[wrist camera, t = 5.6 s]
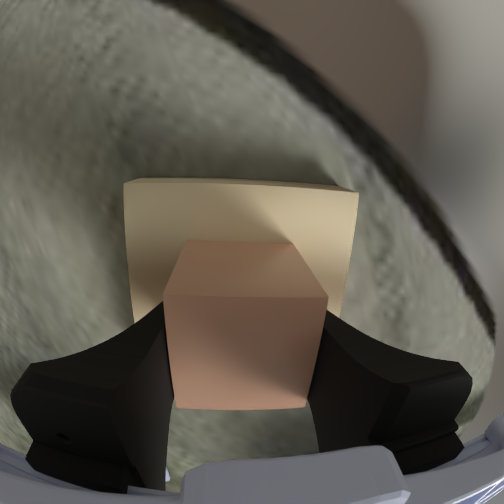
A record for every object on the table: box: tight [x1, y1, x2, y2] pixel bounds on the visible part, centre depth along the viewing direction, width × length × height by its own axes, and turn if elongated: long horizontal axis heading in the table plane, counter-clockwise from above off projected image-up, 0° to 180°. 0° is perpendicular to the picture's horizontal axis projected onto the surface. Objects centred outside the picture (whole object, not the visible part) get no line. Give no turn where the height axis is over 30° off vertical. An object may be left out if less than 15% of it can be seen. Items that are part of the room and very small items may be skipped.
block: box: [163, 240, 329, 410], centre depth 11 cm, size 4×4×5 cm
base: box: [123, 178, 359, 323], centre depth 15 cm, size 10×10×2 cm
